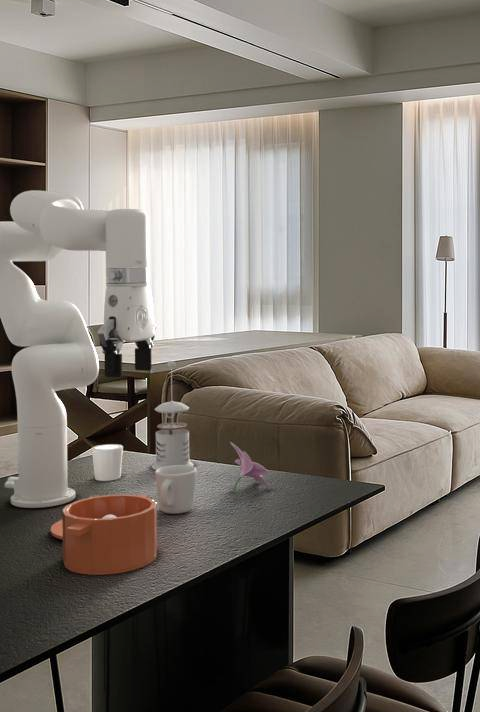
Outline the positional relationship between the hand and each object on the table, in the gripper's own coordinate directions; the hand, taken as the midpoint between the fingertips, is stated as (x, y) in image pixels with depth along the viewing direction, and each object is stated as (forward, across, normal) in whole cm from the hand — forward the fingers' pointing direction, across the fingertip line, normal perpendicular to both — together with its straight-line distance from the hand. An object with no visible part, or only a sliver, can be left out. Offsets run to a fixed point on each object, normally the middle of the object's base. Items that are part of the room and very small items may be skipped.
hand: (128, 373), depth 154 cm
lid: (+28, -2, +6) cm, 28 cm away
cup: (+28, +12, -2) cm, 31 cm away
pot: (+28, -14, -5) cm, 32 cm away
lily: (+28, +32, -9) cm, 44 cm away
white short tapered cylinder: (+28, +32, +26) cm, 50 cm away
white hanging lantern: (+28, +47, +18) cm, 58 cm away
